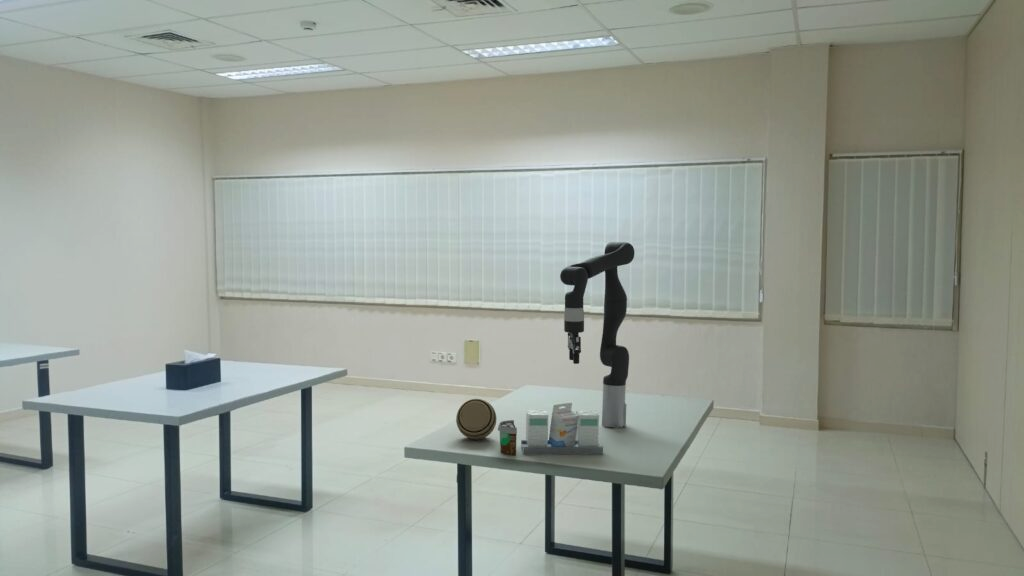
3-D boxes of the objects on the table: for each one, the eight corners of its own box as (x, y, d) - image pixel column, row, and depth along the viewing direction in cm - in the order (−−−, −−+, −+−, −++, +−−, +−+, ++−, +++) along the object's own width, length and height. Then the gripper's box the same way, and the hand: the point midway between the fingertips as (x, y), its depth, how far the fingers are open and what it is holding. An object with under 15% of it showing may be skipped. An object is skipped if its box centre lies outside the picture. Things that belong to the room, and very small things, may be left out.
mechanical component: (448, 437, 277) (449, 397, 277) (480, 432, 286) (481, 393, 286) (470, 446, 265) (471, 404, 265) (503, 440, 275) (504, 400, 274)
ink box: (555, 449, 258) (560, 409, 255) (547, 443, 262) (552, 404, 259) (575, 445, 262) (580, 407, 259) (567, 440, 267) (572, 402, 263)
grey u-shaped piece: (597, 446, 268) (598, 410, 268) (603, 454, 259) (604, 416, 258) (521, 446, 266) (521, 409, 266) (523, 454, 256) (524, 415, 256)
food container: (496, 447, 265) (496, 419, 264) (513, 447, 265) (513, 419, 265) (498, 456, 252) (499, 427, 252) (516, 456, 253) (516, 428, 252)
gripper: (587, 321, 272) (587, 364, 273) (580, 317, 286) (580, 358, 288) (567, 321, 272) (567, 365, 273) (561, 317, 286) (561, 358, 287)
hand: (574, 361), depth 280 cm, fingers open, 8 cm apart
